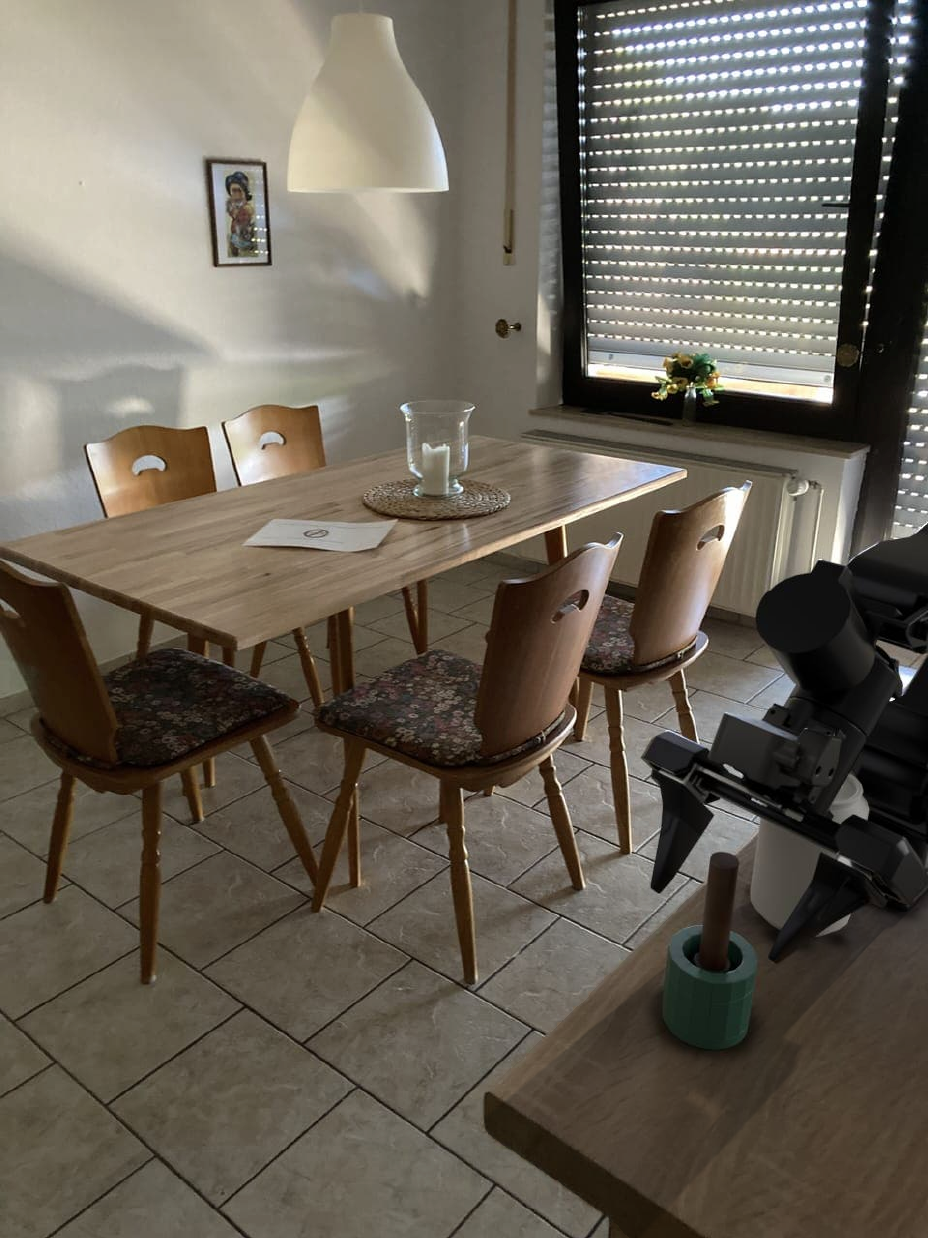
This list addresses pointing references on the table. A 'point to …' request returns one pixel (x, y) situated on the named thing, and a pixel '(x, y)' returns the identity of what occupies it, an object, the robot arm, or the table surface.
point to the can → (796, 860)
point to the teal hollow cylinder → (708, 992)
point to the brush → (718, 914)
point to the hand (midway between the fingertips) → (710, 924)
